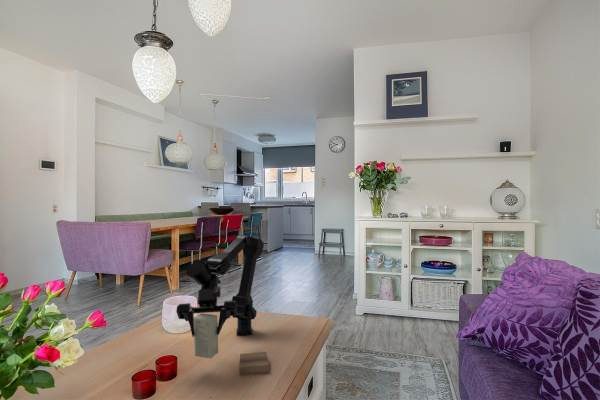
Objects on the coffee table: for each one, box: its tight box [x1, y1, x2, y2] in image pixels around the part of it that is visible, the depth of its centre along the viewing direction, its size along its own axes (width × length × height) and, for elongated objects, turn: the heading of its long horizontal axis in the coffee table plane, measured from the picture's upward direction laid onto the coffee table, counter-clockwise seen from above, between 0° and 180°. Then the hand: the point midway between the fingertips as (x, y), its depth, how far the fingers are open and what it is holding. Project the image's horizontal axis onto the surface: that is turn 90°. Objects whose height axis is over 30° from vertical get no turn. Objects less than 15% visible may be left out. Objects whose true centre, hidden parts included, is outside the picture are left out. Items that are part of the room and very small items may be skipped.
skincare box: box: [193, 313, 219, 360], centre depth 102 cm, size 6×4×12 cm
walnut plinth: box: [239, 351, 270, 376], centre depth 105 cm, size 9×9×2 cm
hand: (205, 335), depth 100 cm, fingers closed on skincare box, 7 cm apart
